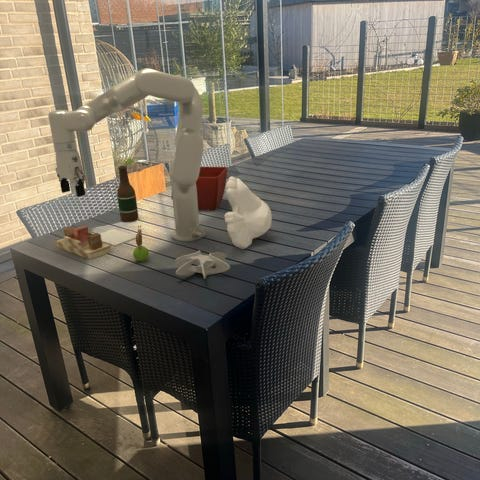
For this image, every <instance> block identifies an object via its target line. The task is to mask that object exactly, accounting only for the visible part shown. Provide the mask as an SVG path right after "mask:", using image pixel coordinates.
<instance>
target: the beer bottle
mask: <svg viewBox="0 0 480 480" xmlns="http://www.w3.org/2000/svg"><path fill="white" fill-rule="evenodd" d="M117 169H118V172H119V173H118V174H119V175H118V176H119V187H118V188H117V191H116V194H117V195H116V196H117V203H118V210H119V216H120V221H121V222H123V223H131V222H136V221H137V220H138V219H139V212H138V211H139V210H138V204H137V195H136V191H135V189H134V187H133V186H132V184H131V182H130V179H129V174H128V167H127V166H126V165H119V166H118V168H117Z"/></svg>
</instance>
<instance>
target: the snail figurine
mask: <svg viewBox="0 0 480 480" xmlns="http://www.w3.org/2000/svg"><path fill="white" fill-rule="evenodd" d="M137 227H138V229H137V233H136V235H135V236H136V239H135V244H136V245H137V246H136V247H135V248H134V249H133V251H132V252H133V253H132V256H133V259H135V260H136V261H137V262H144V261H146V260H147V259H148V258H149V256H150V255H149V254H150V253H149V250H148V248H147V247H145V246H143V234H142V231H143V230H142V229H141V227H142V225H137ZM139 227H140V228H139Z"/></svg>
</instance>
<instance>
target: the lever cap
mask: <svg viewBox="0 0 480 480" xmlns="http://www.w3.org/2000/svg"><path fill="white" fill-rule="evenodd" d="M73 228H74V229H73V233H74V238H75V239H76V240H78V241H81V244H82V247H86V246H89V243H88V238H87V236H89V232H88V231H89V229H88V228H89V227H88V226H85V225H80V226H78V227H73Z"/></svg>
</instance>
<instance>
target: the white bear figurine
mask: <svg viewBox="0 0 480 480" xmlns="http://www.w3.org/2000/svg"><path fill="white" fill-rule="evenodd" d="M225 196H226V199H227V201H228V203H229V204H230V206H231V209H232V211H227V212H226V213H225V214H224V221H225V223H226V224H227V225H226V230H227V233H228V236H229V238H231V242H232V244H233V245H234V246H235V247H237V248H239V249H241V250H245V249H247V248H248V247H250V246H251V245H252V242H253V239H256V238H258V237H261V236H263V235H264V234H265V233H266V232H268V230H269V229H270V228H271V226H272V221H273V217H272V210H271V208H270V207H269V205H268V203H266V202H265V201H263V199H261V198H260V197H258V196H257V195H255V194H254V193H253V192H252V191H251V189H250V188H249V187H248V186H247V185H246V184H245V183H244V182H243V181H242V180H241V179H240V178H238V177H237V178H236V177H235V176H230V177H228V180H227V181H226V184H225Z"/></svg>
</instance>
